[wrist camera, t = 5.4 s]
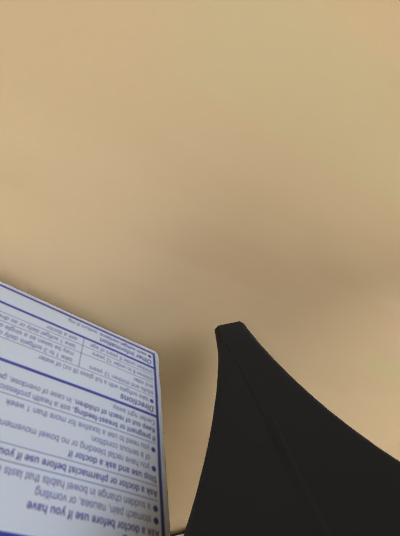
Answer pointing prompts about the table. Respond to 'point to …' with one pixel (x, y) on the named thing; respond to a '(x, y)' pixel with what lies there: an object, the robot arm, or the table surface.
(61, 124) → the table surface
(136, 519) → the medicine box
